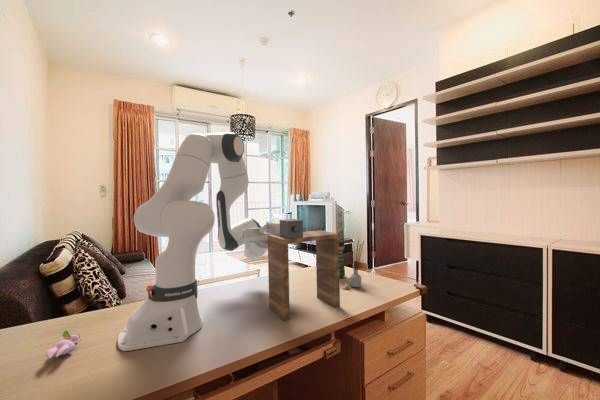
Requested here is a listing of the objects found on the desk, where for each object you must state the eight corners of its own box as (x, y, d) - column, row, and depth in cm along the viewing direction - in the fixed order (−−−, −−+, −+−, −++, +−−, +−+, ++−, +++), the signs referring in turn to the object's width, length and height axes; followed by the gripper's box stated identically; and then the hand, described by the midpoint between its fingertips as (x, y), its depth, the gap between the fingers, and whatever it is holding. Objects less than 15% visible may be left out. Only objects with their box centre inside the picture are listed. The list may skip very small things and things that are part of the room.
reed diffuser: (360, 283, 127) (359, 238, 126) (371, 288, 120) (370, 240, 120) (341, 287, 122) (340, 240, 121) (351, 292, 116) (350, 243, 115)
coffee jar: (329, 280, 132) (329, 240, 132) (322, 275, 140) (321, 238, 139) (347, 277, 136) (347, 238, 136) (339, 273, 143) (338, 236, 143)
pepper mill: (289, 239, 91) (289, 221, 90) (264, 232, 109) (263, 217, 109) (304, 237, 93) (304, 220, 93) (277, 230, 112) (277, 216, 112)
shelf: (284, 321, 91) (282, 239, 90) (269, 308, 101) (267, 235, 101) (339, 306, 101) (338, 233, 101) (321, 296, 112) (320, 230, 111)
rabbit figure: (59, 348, 80) (35, 368, 66) (60, 325, 81) (36, 341, 67) (87, 343, 83) (69, 361, 69) (87, 321, 83) (69, 335, 70)
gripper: (236, 235, 115) (245, 220, 104) (282, 230, 125) (295, 216, 114) (239, 249, 112) (248, 235, 102) (286, 244, 122) (299, 231, 112)
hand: (273, 225), depth 108 cm, fingers closed on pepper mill, 4 cm apart
